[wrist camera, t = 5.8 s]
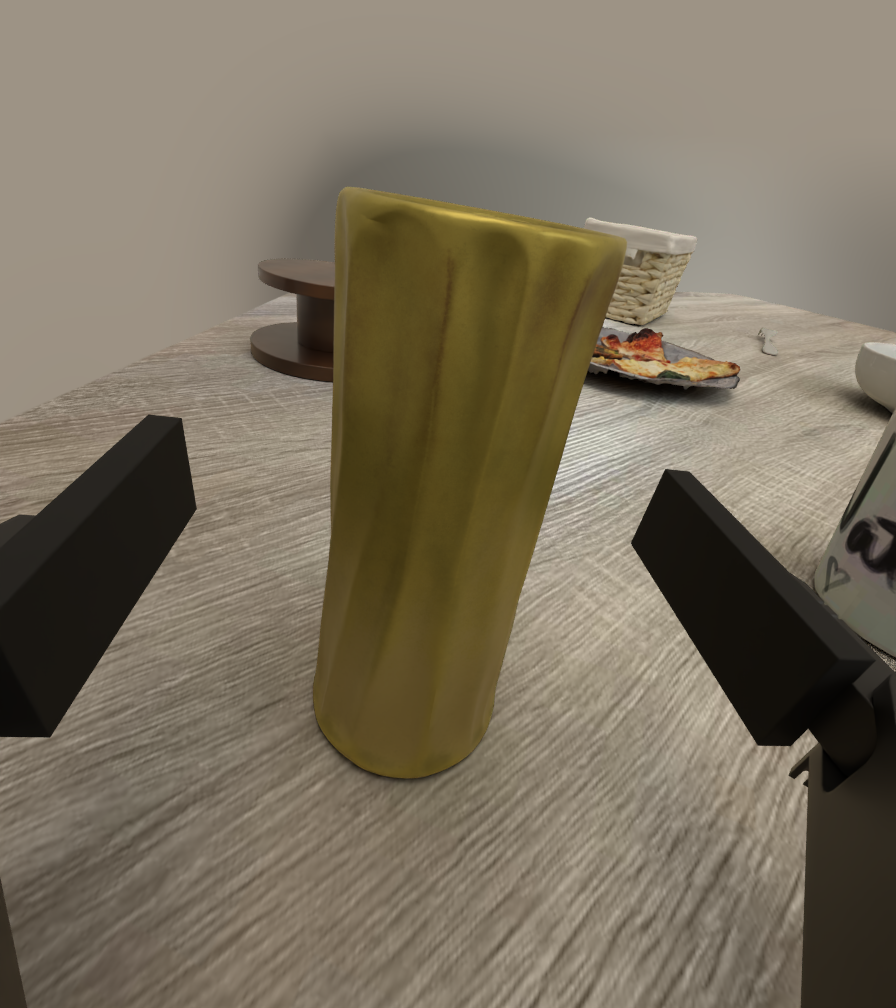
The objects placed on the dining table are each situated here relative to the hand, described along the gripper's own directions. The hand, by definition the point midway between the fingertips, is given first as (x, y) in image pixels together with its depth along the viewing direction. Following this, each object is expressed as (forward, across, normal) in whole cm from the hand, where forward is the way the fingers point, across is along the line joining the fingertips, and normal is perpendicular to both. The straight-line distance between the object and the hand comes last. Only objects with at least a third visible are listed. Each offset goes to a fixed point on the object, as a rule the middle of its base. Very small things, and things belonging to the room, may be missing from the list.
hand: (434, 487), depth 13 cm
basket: (+85, +42, -8) cm, 95 cm away
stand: (+34, -7, -8) cm, 36 cm away
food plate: (+45, +27, -8) cm, 53 cm away
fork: (+74, +68, -8) cm, 101 cm away
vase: (-1, 0, -8) cm, 8 cm away
